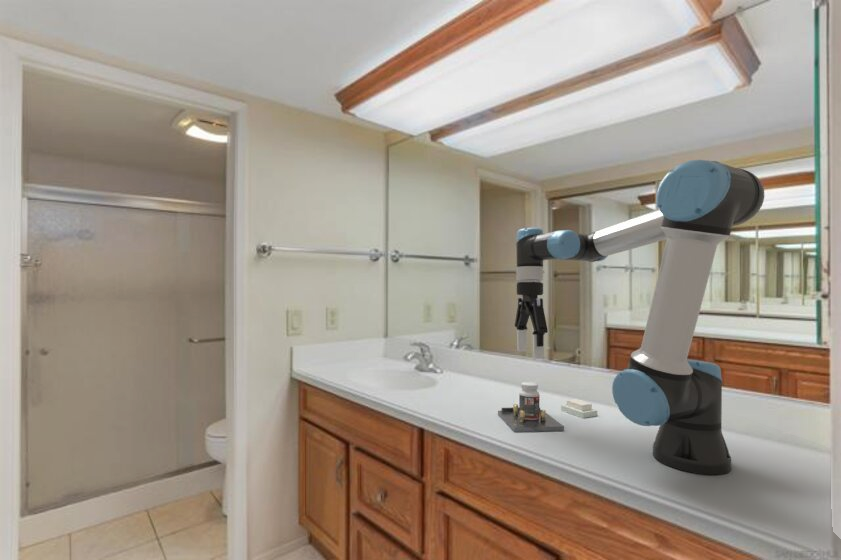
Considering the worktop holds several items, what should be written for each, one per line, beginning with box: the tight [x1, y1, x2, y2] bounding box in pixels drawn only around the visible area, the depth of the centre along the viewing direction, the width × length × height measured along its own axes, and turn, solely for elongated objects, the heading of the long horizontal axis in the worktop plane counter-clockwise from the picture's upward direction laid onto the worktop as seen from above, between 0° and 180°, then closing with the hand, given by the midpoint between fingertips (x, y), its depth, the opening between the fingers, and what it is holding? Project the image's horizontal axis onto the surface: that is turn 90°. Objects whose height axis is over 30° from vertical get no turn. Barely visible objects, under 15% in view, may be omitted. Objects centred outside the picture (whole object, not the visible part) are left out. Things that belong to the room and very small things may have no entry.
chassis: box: [497, 404, 565, 433], centre depth 125 cm, size 16×14×4 cm
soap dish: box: [560, 398, 598, 419], centre depth 135 cm, size 9×6×3 cm, turn 26°
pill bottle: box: [518, 381, 540, 420], centre depth 125 cm, size 6×6×10 cm
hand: (529, 354), depth 125 cm, fingers open, 13 cm apart
